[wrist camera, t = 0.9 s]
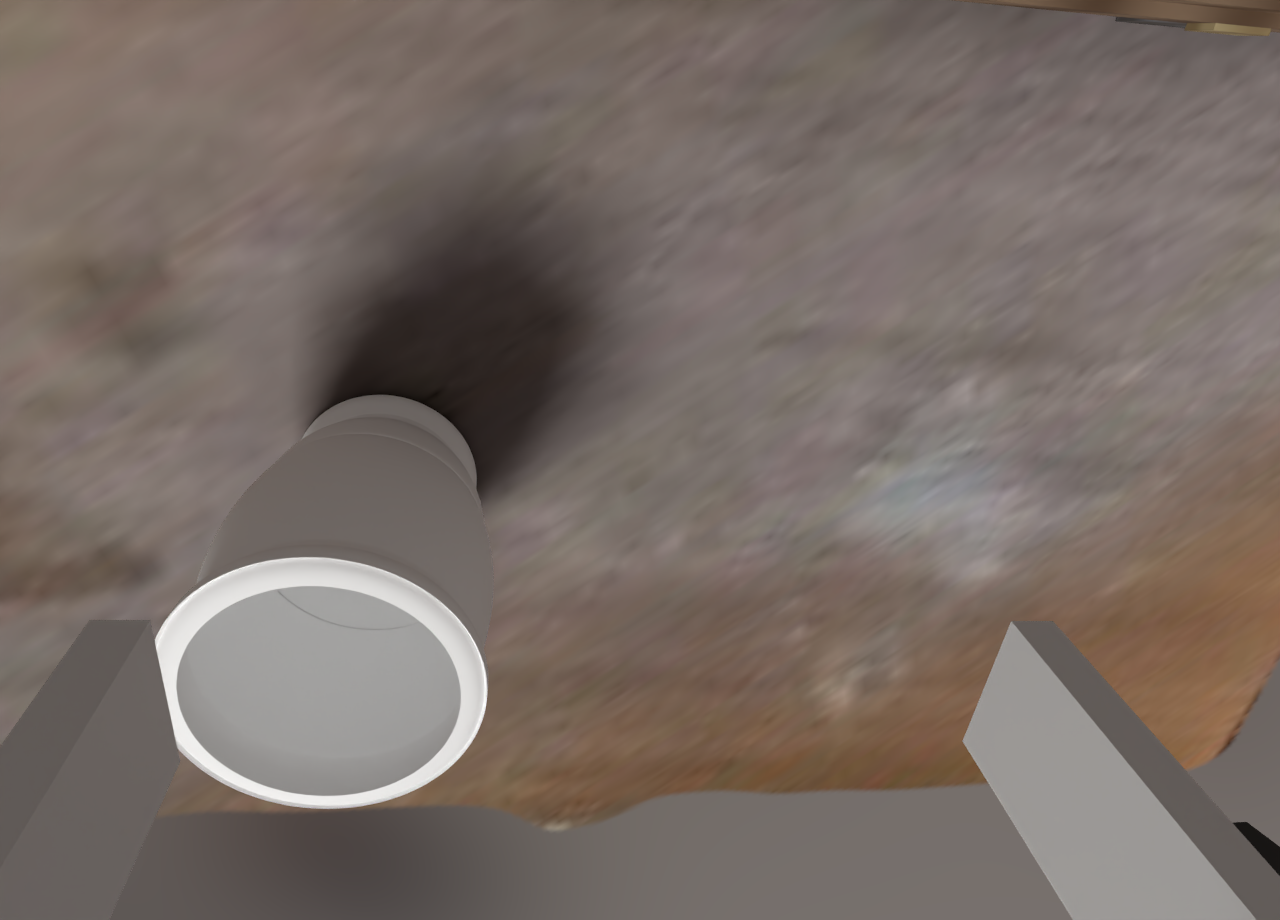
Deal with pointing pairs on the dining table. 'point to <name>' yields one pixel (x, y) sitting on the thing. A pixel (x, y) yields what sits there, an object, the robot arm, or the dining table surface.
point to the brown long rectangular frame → (1173, 13)
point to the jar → (339, 616)
